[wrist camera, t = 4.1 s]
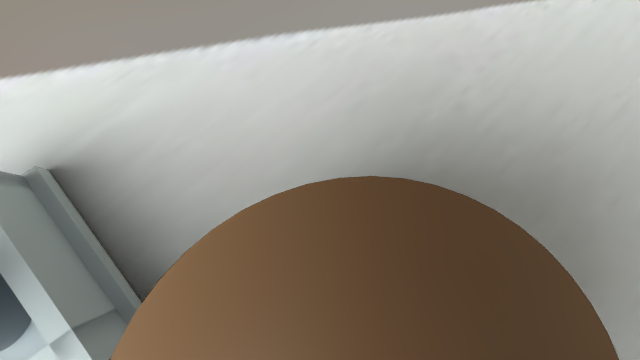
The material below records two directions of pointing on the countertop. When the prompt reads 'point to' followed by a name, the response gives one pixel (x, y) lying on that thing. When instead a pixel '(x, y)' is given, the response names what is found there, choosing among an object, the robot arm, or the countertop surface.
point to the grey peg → (11, 316)
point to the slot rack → (59, 274)
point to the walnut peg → (366, 284)
